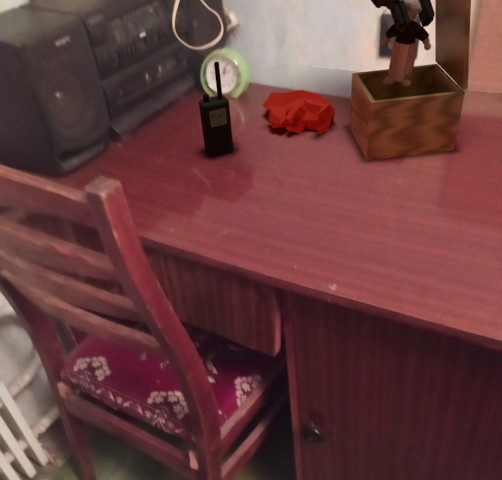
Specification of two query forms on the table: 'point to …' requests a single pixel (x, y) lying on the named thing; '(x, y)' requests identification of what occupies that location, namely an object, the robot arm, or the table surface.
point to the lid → (453, 38)
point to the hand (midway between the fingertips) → (416, 25)
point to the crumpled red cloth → (299, 111)
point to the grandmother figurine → (405, 47)
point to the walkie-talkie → (216, 121)
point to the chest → (405, 113)
